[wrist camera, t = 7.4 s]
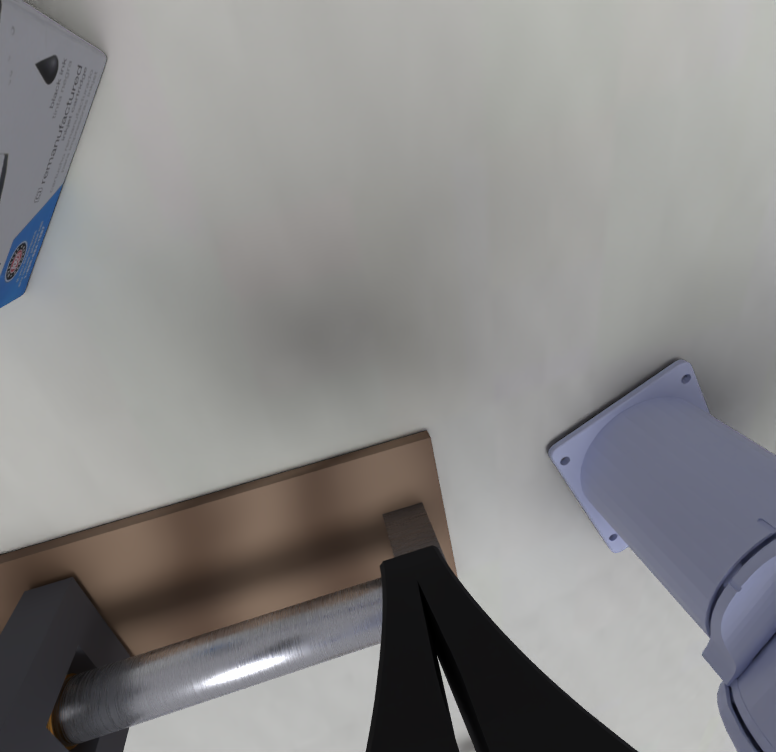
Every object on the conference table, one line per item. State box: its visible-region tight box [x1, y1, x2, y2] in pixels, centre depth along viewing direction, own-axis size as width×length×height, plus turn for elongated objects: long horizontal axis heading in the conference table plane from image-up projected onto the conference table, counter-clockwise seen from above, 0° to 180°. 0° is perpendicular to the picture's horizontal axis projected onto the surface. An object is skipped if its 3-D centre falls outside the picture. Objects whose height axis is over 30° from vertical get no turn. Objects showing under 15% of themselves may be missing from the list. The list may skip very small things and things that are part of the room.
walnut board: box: [0, 431, 458, 657], centre depth 23 cm, size 24×10×1 cm, turn 102°
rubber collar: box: [0, 577, 131, 752], centre depth 19 cm, size 2×7×7 cm, turn 12°
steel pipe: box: [46, 502, 447, 750], centre depth 21 cm, size 22×3×5 cm, turn 102°
